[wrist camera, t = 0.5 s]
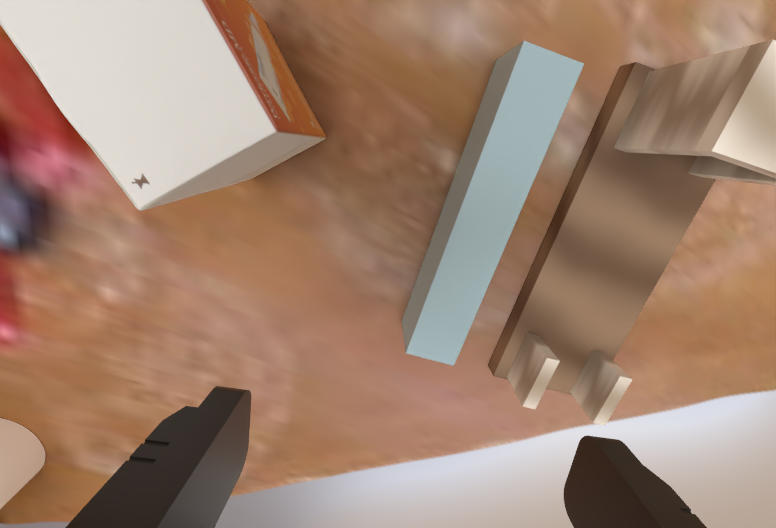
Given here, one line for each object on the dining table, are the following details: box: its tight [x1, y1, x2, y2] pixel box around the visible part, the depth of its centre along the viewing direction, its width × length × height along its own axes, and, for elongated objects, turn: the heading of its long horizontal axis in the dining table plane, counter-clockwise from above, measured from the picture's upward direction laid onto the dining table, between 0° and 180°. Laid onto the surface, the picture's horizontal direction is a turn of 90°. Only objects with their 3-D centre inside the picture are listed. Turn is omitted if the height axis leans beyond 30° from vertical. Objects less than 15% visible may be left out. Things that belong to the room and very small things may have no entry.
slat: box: [402, 41, 584, 366], centre depth 25 cm, size 20×4×5 cm, turn 163°
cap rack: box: [488, 40, 776, 425], centre depth 24 cm, size 24×9×9 cm, turn 164°
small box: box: [0, 0, 326, 210], centre depth 18 cm, size 8×6×13 cm
